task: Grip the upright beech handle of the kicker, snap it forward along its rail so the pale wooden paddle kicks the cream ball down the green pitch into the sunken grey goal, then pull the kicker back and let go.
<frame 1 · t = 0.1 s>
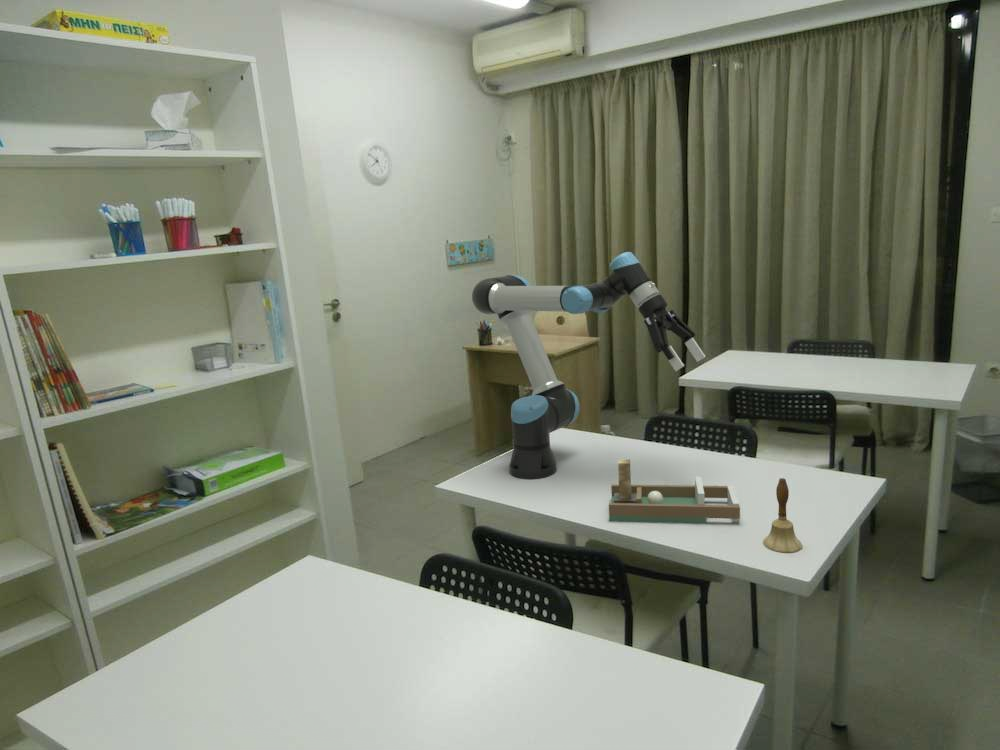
hand: (691, 364, 180), 36 cm above the table, fingers open, 13 cm apart
pitch: (672, 511, 172), on the table
ball: (655, 498, 173), point 3 cm above the table, touching pitch
kicker: (627, 482, 173), point 8 cm above the table, slide at 0.0 cm
hand bell: (782, 545, 151), on the table
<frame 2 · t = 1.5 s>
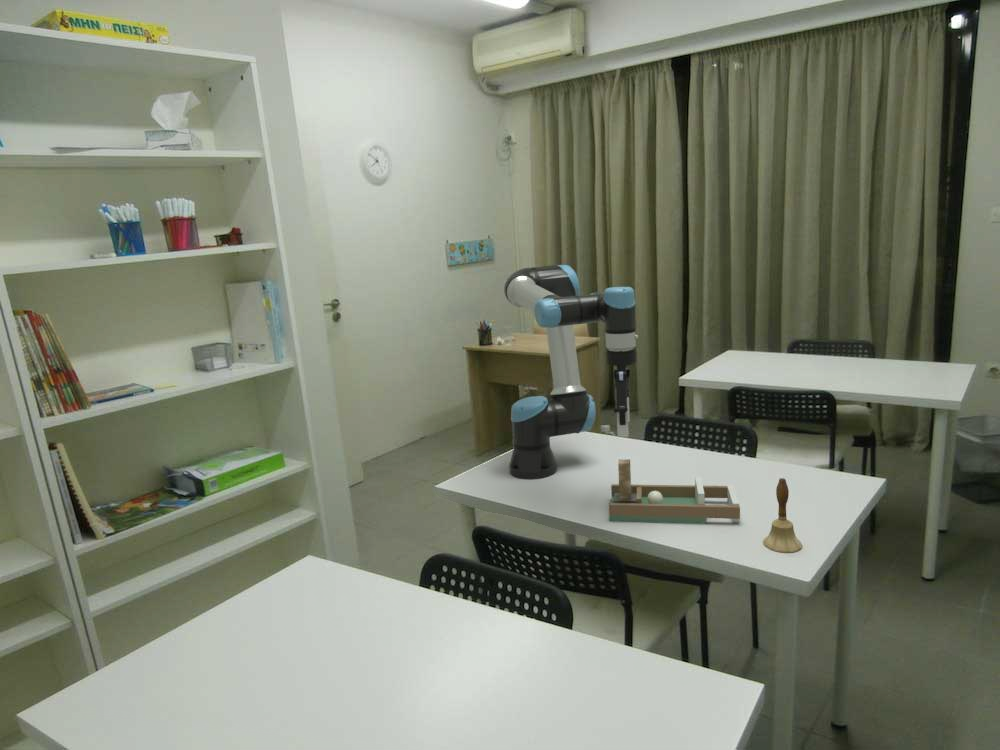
hand: (623, 428, 170), 23 cm above the table, fingers open, 13 cm apart
nothing on the table moved.
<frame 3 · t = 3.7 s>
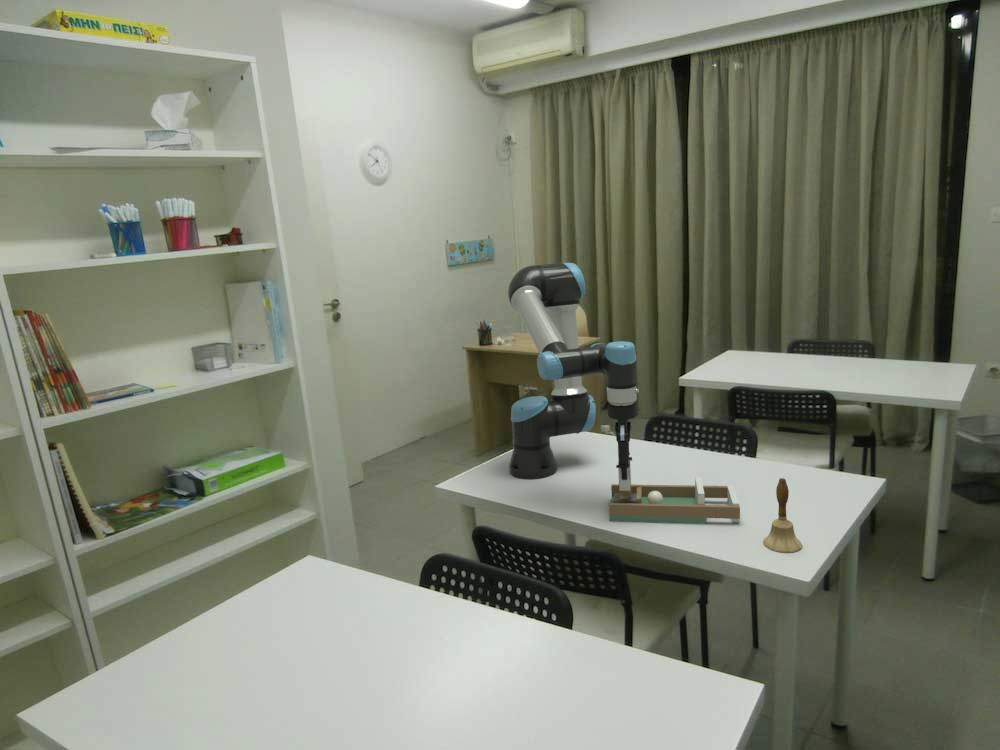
hand: (625, 487, 174), 7 cm above the table, fingers closed on kicker, 3 cm apart
kicker: (627, 482, 173), point 8 cm above the table, slide at 0.0 cm, touching gripper
everything else where it was.
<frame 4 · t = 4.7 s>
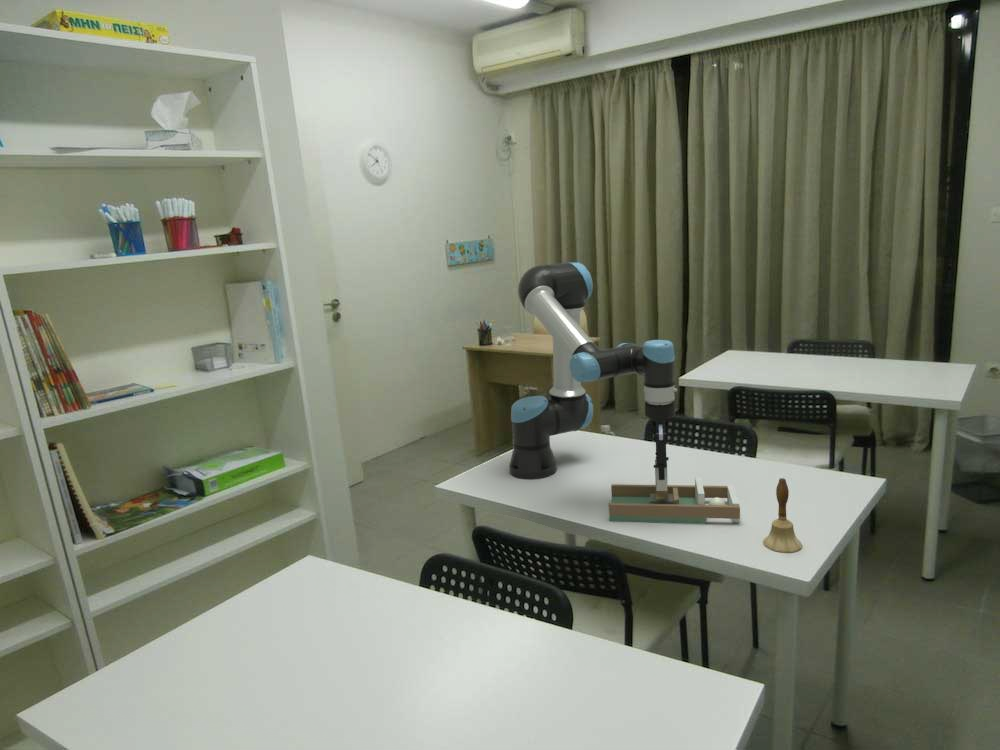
hand: (661, 487, 172), 7 cm above the table, fingers closed on kicker, 3 cm apart
ball: (717, 505, 169), point 2 cm above the table, tilted 71°
kicker: (663, 483, 171), point 8 cm above the table, slide at 9.4 cm, touching gripper
everything else where it was.
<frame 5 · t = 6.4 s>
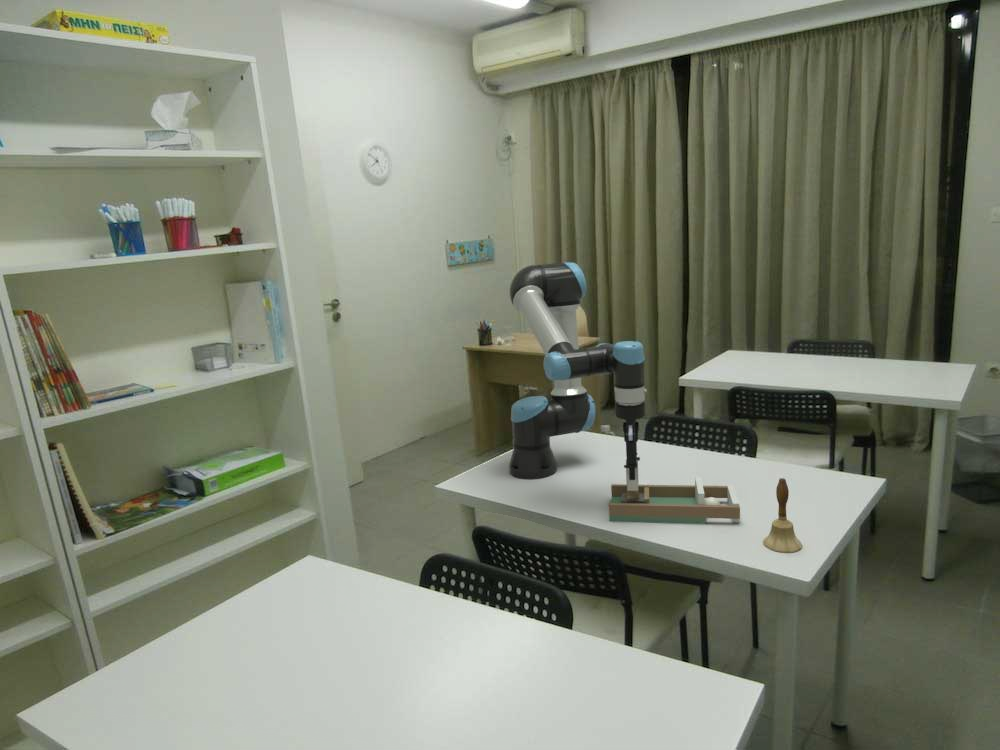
hand: (632, 487, 173), 7 cm above the table, fingers closed on kicker, 3 cm apart
ball: (711, 504, 170), point 2 cm above the table, tilted 41°
kicker: (634, 482, 173), point 8 cm above the table, slide at 2.0 cm, touching gripper
everything else where it was.
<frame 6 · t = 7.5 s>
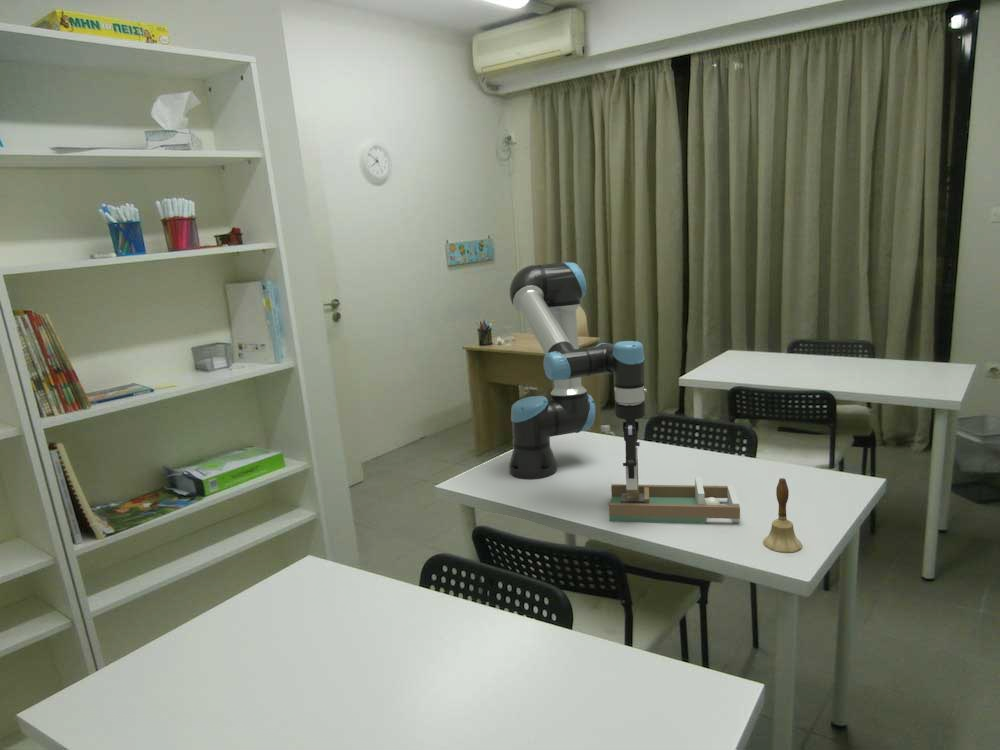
hand: (632, 479, 173), 9 cm above the table, fingers open, 13 cm apart
kicker: (634, 482, 173), point 8 cm above the table, slide at 2.0 cm
everything else where it was.
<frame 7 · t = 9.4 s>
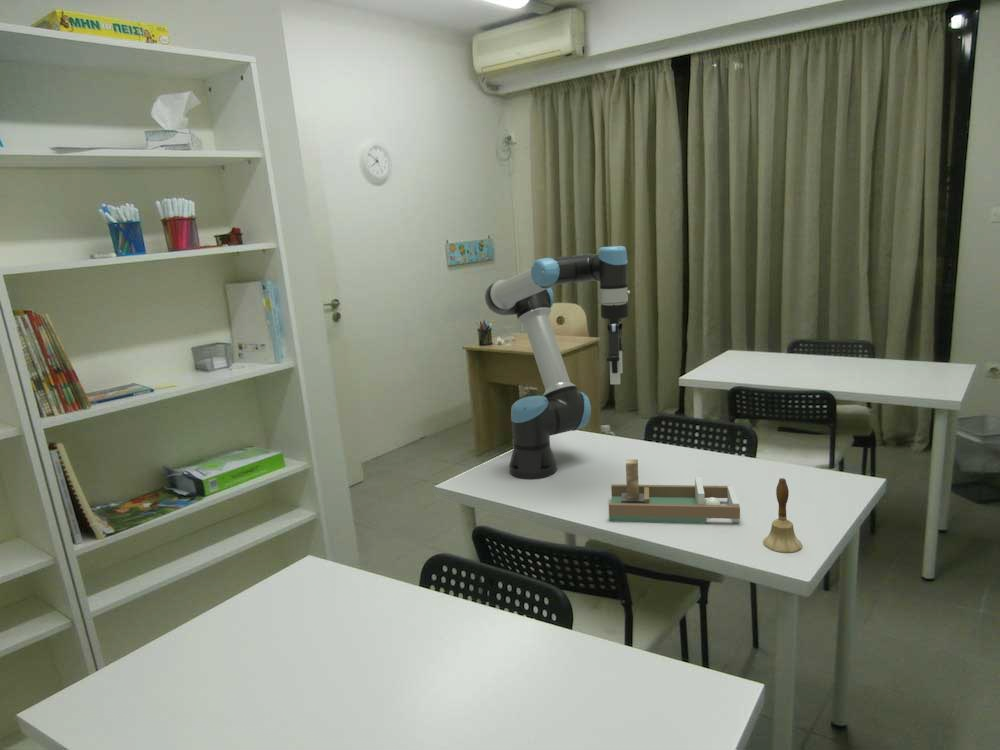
hand: (616, 378, 185), 32 cm above the table, fingers open, 13 cm apart
ball: (712, 505, 170), point 2 cm above the table, tilted 47°
everything else where it was.
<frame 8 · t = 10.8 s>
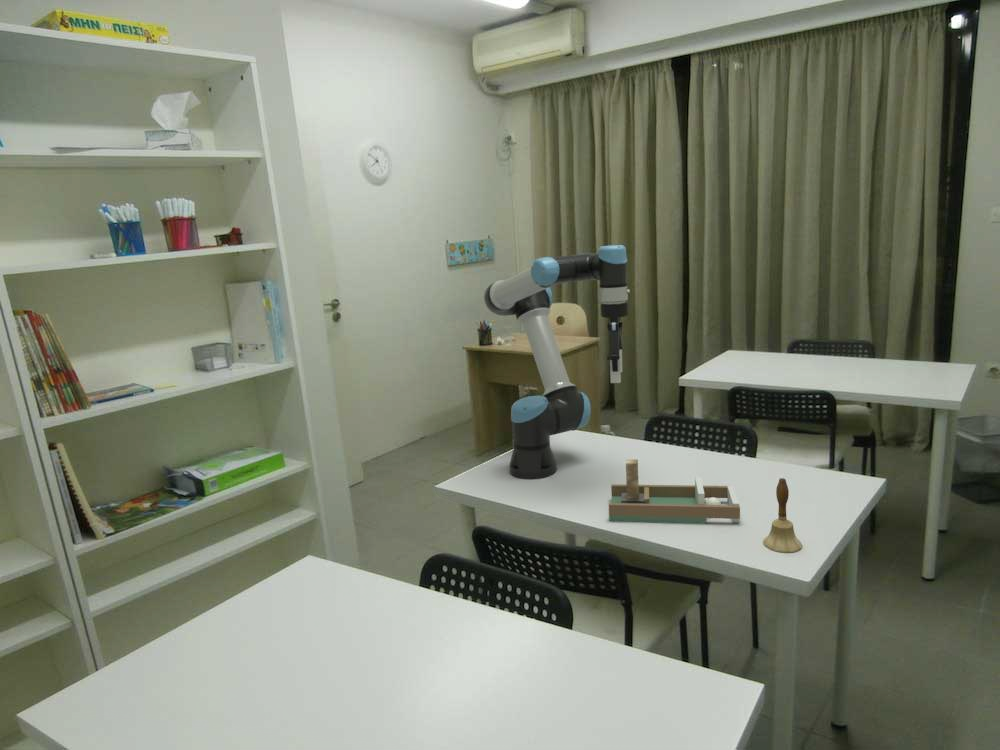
hand: (616, 377, 185), 33 cm above the table, fingers open, 13 cm apart
nothing on the table moved.
at the end: ball inside the target area (0.6 cm from its centre), point 2.0 cm above the table; kicker slide at 2.0 cm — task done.
